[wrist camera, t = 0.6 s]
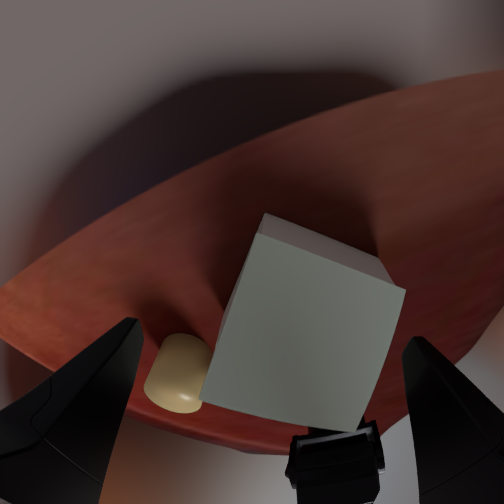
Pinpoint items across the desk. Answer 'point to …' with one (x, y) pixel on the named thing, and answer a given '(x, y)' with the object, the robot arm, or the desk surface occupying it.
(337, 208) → the desk surface
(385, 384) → the desk surface
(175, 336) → the beige rounded cylinder
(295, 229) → the storage box
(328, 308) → the box lid
